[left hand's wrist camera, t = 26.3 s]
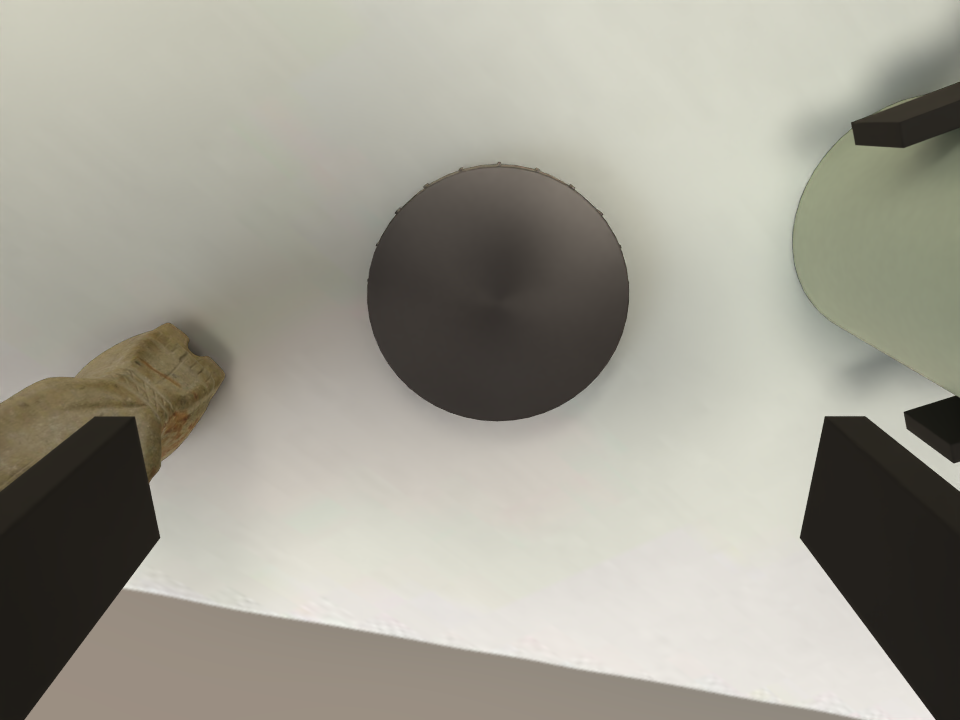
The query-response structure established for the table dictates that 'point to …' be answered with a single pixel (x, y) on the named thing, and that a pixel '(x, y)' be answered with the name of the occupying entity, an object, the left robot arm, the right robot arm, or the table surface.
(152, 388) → the sculpture
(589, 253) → the lid
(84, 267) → the table surface
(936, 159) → the jar
